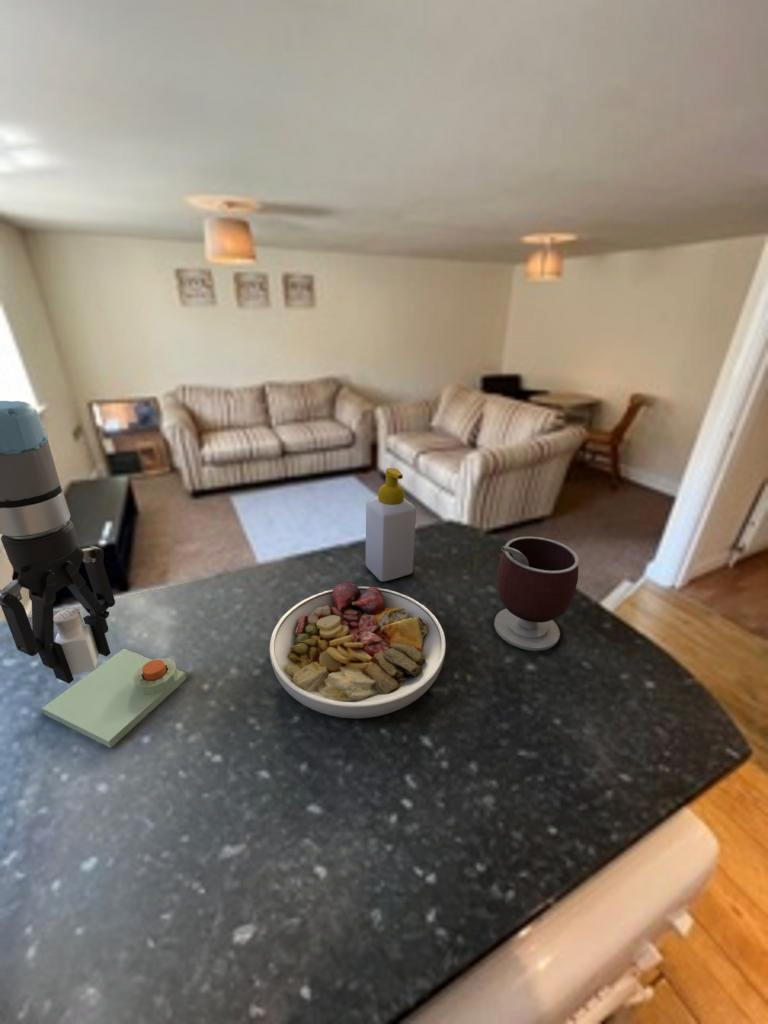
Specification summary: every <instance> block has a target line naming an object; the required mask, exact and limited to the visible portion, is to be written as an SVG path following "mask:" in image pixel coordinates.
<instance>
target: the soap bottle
mask: <svg viewBox="0 0 768 1024" xmlns="http://www.w3.org/2000/svg"><path fill="white" fill-rule="evenodd" d="M403 478H404V475H403V473H402V472H401V471H400V470H399V469H398V468H396V467H388V468H386V469H385V483H383V484H382V485H381V486H379V489H378V493H377V496H376V497H373V498H371V499H369V500H367V501H366V502H365V567H366V568H367V569H368V570H369V571H370V572H371V573H372V574H373V575H374V576H375V577H376V579H377V580H379V581H380V582H383V583H385V582H389V581H392V580H396V579H399V578H400V579H401V578H403V577H406V576H410V575H411V574H412V573H414V571H413V570H414V555H415V541H416V540H415V538H416V522H417V521H416V519H417V509H416V506H415V505H414V504H412V503H411V502H410V501H408V500H407V499H405V490H404V488H403V487H402V485H400V484H399V480H403Z"/></svg>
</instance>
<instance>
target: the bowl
mask: <svg viewBox="0 0 768 1024" xmlns="http://www.w3.org/2000/svg"><path fill="white" fill-rule="evenodd" d="M269 640H270V641H269V657H270V663H271V666H272V670H273V672H274V675H275V677H276V679H277V680H278V683H279V684H280V685H281V686H282V688H283V689H284V690H285V692H287V693H288V694H289V695H290V696H291V697H292V698H293V699H294V700H296V701H297V702H299V704H302V705H303V706H305V707H307V708H309V709H311V710H313V711H315V712H318V713H320V714H324V715H327V716H331V717H336V718H342V719H368V718H375V717H381V716H384V715H388V714H391V713H394V712H396V711H398V710H399V711H400V710H401V709H404V708H405V707H407V706H408V705H411V704H412V703H415V701H417V700H418V699H419V698H420V697H422V696H423V695H425V693H426V692H427V691H428V690H429V689H430V688H431V687H432V685H433V684H434V683H435V681H436V680H437V679H438V677H439V674H440V672H441V670H442V667H443V664H444V661H445V655H446V636H445V633H444V630H443V628H442V625H441V624H440V622H439V620H438V618H437V617H436V616H435V615H434V614H433V613H432V612H431V611H430V610H429V609H428V608H427V607H426V606H425V605H423V604H422V603H420V602H419V601H417V600H416V599H414V598H412V597H410V596H408V595H405V594H403V593H400V592H397V591H394V590H391V589H386V588H383V587H382V588H381V587H376V586H358V585H357V584H356V583H353V582H351V581H343V582H340V583H337V585H335V587H334V588H333V589H329V590H325V591H322V592H319V593H316V594H313V595H311V596H309V597H307V598H305V599H303V600H301V601H300V602H298V603H296V604H295V605H294V606H293V607H291V608H289V610H288V611H287V612H286V613H284V615H283V616H282V617H281V618H280V619H279V620H278V622H277V623H276V625H275V627H274V629H273V631H272V634H271V637H270V639H269Z"/></svg>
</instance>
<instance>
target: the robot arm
mask: <svg viewBox="0 0 768 1024" xmlns="http://www.w3.org/2000/svg"><path fill="white" fill-rule="evenodd" d="M40 418H41V417H40V416H39V413H38V410H37V409H36V408H35V407H34V406H33V405H32V404H31V403H29V402H25V401H20V400H13V401H11V400H0V535H1V537H0V541H1V544H2V546H3V549H4V552H5V555H6V556H7V559H8V561H9V563H10V565H11V568H12V575H11V580H12V581H11V582H9V583H8V584H7V585H6V586H4V587H3V588H2V589H0V607H1V610H2V612H3V615H4V617H5V621H6V623H7V626H8V629H9V631H10V634H11V636H12V639H13V641H14V644H15V647H16V650H17V651H19V652H21V653H23V654H26V655H28V656H30V657H34V656H36V655H37V654H38V655H39V658H40V661H41V663H42V665H44V666H45V667H47V668H49V669H51V670H52V671H53V673H54V676H55V678H56V679H58V680H60V681H62V682H64V683H66V684H71V683H72V682H73V681H74V675H73V676H72V673H71V671H70V668H69V665H68V662H67V660H66V657H65V654H64V651H63V649H62V646H61V644H58V643H56V642H55V632H54V631H55V624H54V619H53V617H54V603H55V602H56V600H57V599H56V595H57V594H56V593H58V592H59V591H60V590H62V589H63V588H68V590H69V592H70V593H71V594H72V595H73V596H74V597H75V599H76V600H77V601H78V603H79V604H80V605H81V607H82V608H83V609H84V610H85V611H86V613H87V615H86V616H83V617H82V620H83V622H84V624H89V625H90V626H91V630H92V633H93V636H94V639H95V642H96V646H97V649H98V652H99V655H102V656H103V657H108V656H110V655H111V654H112V653H111V650H110V646H109V642H108V640H107V636H106V633H108V632H109V625H108V622H107V618H109V616H110V612H109V611H108V609H109V608H112V607H114V606H115V605H116V600H115V595H114V593H113V590H112V586H111V584H110V580H109V577H108V573H107V571H106V568H105V565H104V557H105V556H104V555H105V550H104V549H102V548H100V547H97V546H93V545H87V546H86V547H84V548H81V547H80V546H79V540H78V537H77V533H76V530H75V527H74V523H73V521H72V520H70V518H71V513H70V509H69V506H68V503H67V499H66V497H65V493H64V492H63V488H62V485H61V482H60V478H59V475H58V471H57V468H56V465H55V461H54V458H53V454H52V450H51V446H50V443H49V440H48V433H47V431H46V429H45V427H44V425H43V423H42V421H41V419H40ZM82 564H84V567H85V570H86V574H87V578H88V580H89V583H90V584H91V588H92V591H93V592H92V591H91V589H90V588H89V586H88V585H87V584H86V583H87V582H86V580H85V578H84V577H83V576H82V575H81V573H80V569H81V565H82ZM23 588H24V589H26V590H28V598H29V600H30V601H31V623H30V619H29V617H28V614H27V612H26V609H25V606H24V604H23V603H22V600H23V596H22V593H21V590H22V589H23ZM31 624H32V625H31Z"/></svg>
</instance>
